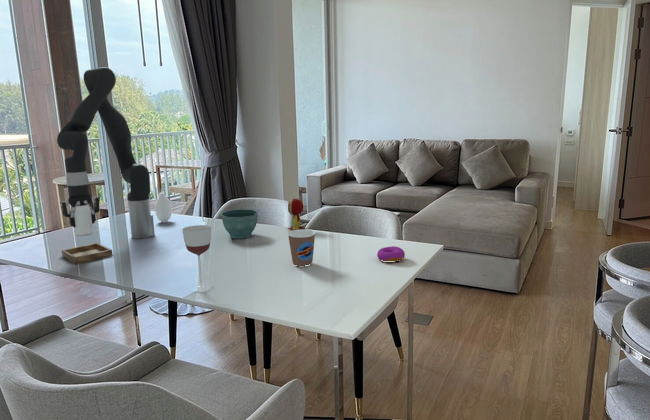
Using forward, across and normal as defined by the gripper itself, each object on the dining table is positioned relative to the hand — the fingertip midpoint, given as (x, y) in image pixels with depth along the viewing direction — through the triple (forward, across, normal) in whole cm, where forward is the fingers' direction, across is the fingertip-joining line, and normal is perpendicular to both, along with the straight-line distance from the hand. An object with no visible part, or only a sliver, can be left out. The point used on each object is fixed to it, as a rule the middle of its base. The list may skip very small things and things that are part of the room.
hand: (83, 225), depth 190 cm
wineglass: (+13, -13, +66) cm, 68 cm away
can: (+4, 0, 0) cm, 4 cm away
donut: (+13, -77, +93) cm, 121 cm away
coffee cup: (+13, -51, +72) cm, 89 cm away
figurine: (+13, -83, +33) cm, 90 cm away
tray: (+13, 0, 0) cm, 13 cm away
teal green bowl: (+13, -59, +22) cm, 64 cm away
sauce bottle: (+13, -48, -31) cm, 59 cm away
